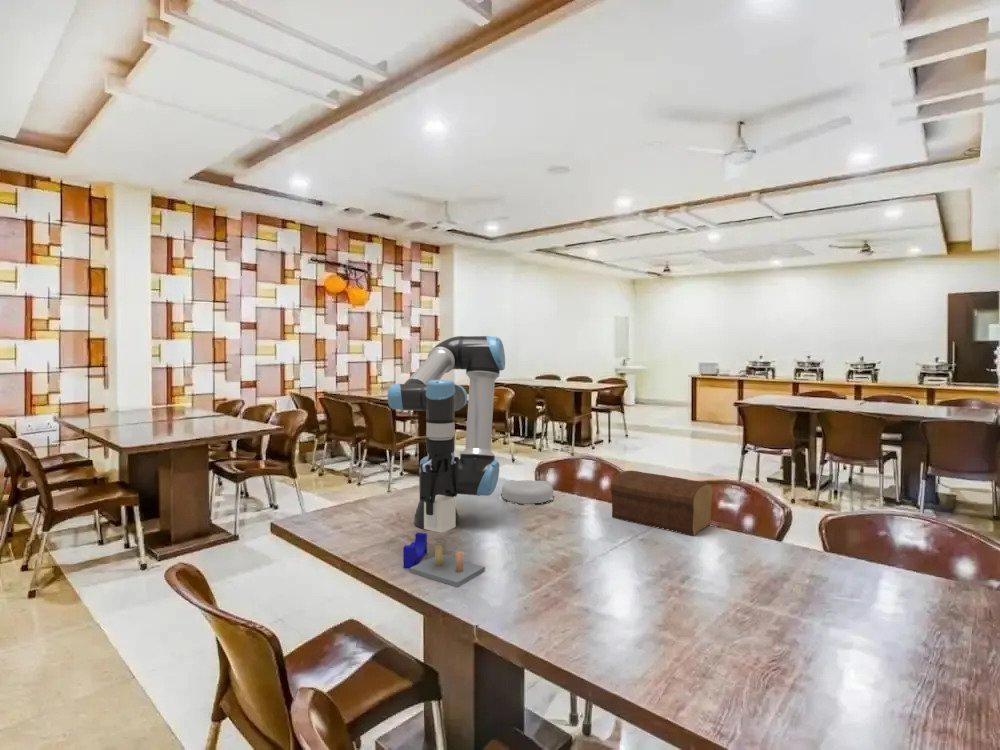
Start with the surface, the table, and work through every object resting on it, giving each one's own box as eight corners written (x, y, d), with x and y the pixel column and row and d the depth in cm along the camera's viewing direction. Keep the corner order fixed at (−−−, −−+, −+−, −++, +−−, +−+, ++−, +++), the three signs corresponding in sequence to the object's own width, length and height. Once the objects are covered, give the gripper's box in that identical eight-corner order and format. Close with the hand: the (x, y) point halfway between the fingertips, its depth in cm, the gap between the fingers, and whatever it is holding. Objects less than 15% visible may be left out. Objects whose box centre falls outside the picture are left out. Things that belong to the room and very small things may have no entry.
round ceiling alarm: (490, 505, 214) (490, 489, 214) (501, 489, 239) (501, 474, 238) (556, 509, 210) (556, 493, 209) (560, 492, 234) (561, 477, 234)
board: (438, 558, 160) (438, 536, 160) (484, 571, 151) (485, 548, 151) (409, 572, 150) (409, 549, 150) (457, 587, 141) (457, 562, 141)
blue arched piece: (412, 552, 165) (412, 532, 165) (426, 553, 164) (426, 533, 164) (398, 568, 153) (398, 546, 153) (414, 569, 152) (414, 547, 152)
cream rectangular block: (438, 523, 156) (438, 494, 155) (455, 526, 152) (455, 497, 152) (424, 528, 151) (423, 499, 150) (441, 532, 147) (441, 502, 147)
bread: (692, 538, 179) (693, 488, 178) (609, 518, 198) (609, 473, 197) (712, 524, 192) (714, 478, 192) (633, 507, 212) (633, 465, 211)
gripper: (451, 432, 160) (450, 512, 161) (405, 441, 144) (405, 529, 146) (472, 434, 156) (472, 516, 157) (427, 444, 140) (427, 535, 141)
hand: (439, 523), depth 151 cm, fingers closed on cream rectangular block, 6 cm apart
